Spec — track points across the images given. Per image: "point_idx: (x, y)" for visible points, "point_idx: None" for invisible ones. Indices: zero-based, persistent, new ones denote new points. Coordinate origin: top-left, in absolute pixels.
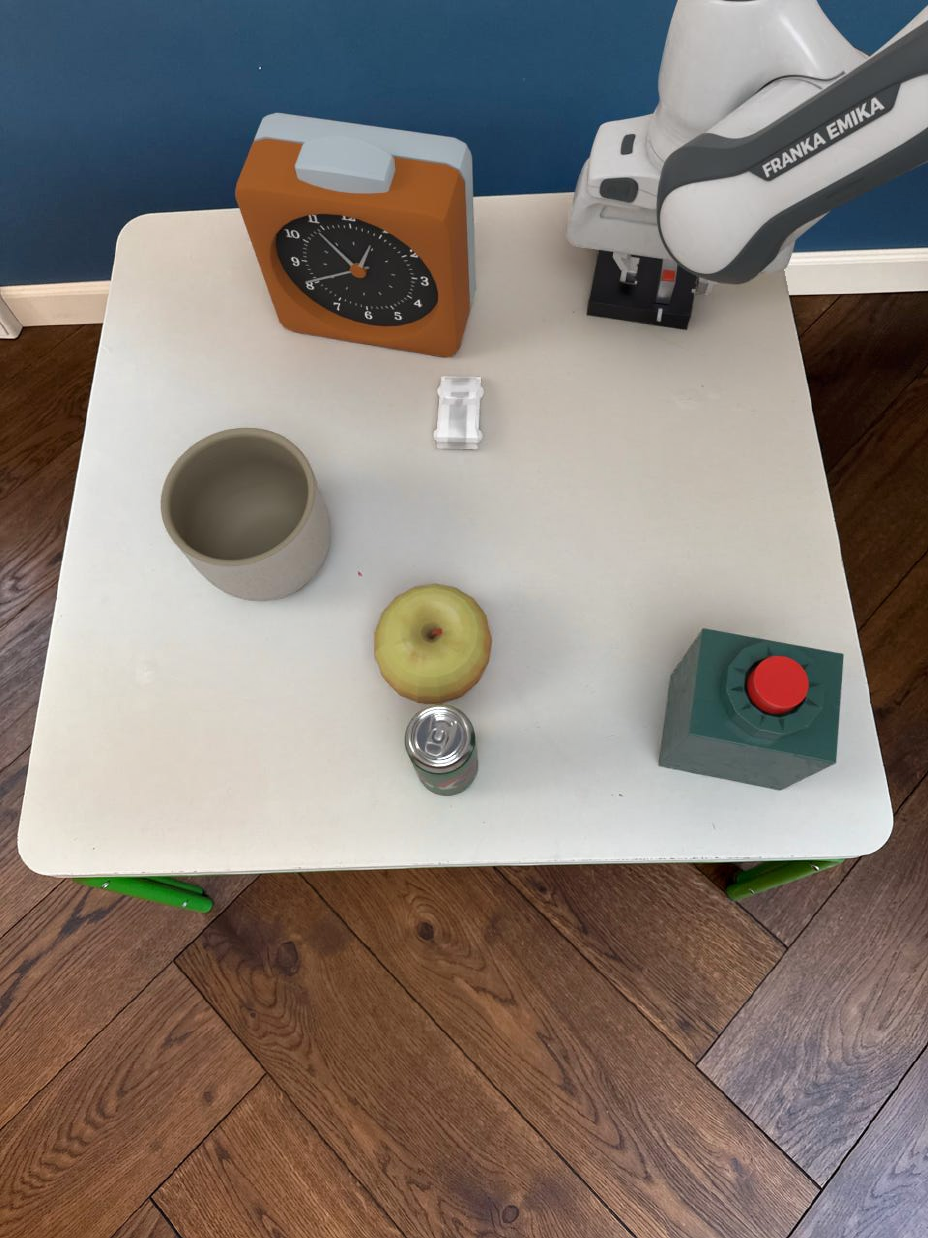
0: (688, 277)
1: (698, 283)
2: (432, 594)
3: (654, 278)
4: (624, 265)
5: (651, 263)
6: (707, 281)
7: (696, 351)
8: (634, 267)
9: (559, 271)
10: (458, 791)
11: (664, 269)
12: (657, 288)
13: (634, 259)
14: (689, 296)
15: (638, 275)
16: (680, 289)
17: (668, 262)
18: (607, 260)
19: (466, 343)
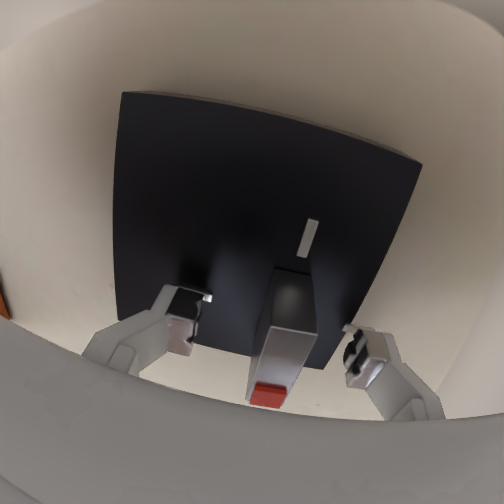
0: (347, 291)
1: (347, 381)
2: None
3: (259, 287)
4: (147, 364)
5: (255, 243)
6: (367, 386)
7: (326, 369)
8: (181, 346)
9: (71, 194)
10: None
11: (259, 382)
12: (255, 343)
13: (179, 323)
14: (334, 335)
15: (217, 275)
16: (318, 320)
17: (274, 367)
18: (136, 225)
19: (14, 307)
